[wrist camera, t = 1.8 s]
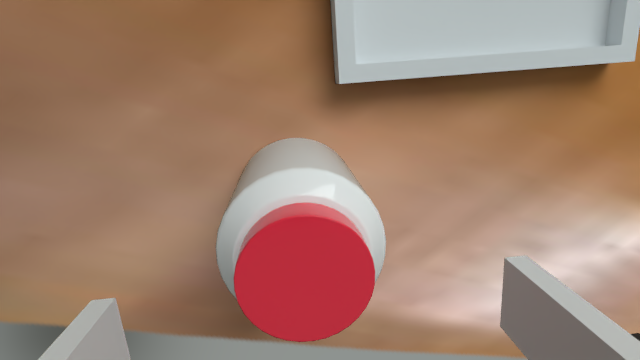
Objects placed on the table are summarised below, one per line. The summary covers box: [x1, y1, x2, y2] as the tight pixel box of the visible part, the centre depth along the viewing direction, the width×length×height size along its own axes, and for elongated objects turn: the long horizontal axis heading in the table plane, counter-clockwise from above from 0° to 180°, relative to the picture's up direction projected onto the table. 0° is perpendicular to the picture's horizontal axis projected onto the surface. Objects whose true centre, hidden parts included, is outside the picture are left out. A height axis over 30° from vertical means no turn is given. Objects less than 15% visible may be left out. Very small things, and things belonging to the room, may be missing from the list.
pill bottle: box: [216, 138, 386, 342], centre depth 20 cm, size 8×8×11 cm
